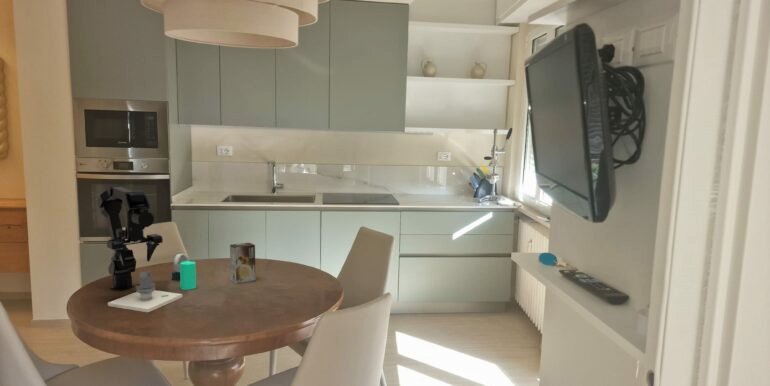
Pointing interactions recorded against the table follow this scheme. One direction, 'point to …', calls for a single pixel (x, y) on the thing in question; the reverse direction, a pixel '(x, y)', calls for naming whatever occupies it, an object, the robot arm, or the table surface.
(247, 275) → the coffee box
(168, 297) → the post plate
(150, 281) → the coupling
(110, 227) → the robot arm
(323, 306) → the table surface
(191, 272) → the candle
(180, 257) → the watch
